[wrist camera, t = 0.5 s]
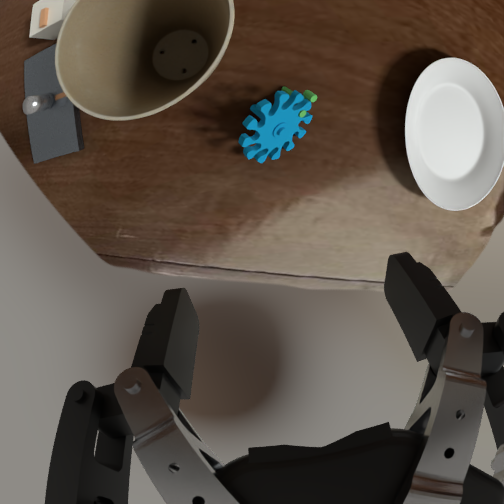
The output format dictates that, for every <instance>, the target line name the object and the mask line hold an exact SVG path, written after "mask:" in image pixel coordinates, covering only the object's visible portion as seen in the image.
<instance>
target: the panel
mask: <svg viewBox="0 0 504 504" xmlns="http://www.w3.org/2000/svg"><path fill="white" fill-rule="evenodd" d="M56 44H57V43H56ZM56 44H54V45H52V46H50V47H48V48H47V49H45V50H43V51H41V52H39V53H37V54H36V55H34V56H32V57H31V58H29V59H27V60H26V61H24V81H25V100H24V102H23V112H24V113H25V114H27V122H28V130H29V137H30V144H31V150H32V155H33V160H34V164H35V163H38V162H41V161H44V160H48V159H51V158H54V157H58V156H61V155H65V154H68V153H72V152H76V151H80V150H82V149H84V143H83V136H82V129H81V121H80V112H79V108H78V107H76V106H75V105H74V104H73V103H72V102H71V101H70V100H69V99H68V97H67V96H66V95H65V93H64V91H63V90H62V88H61V86H60V83H59V81H58V77H57V74H56V67H55V49H56Z"/></svg>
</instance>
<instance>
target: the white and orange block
mask: <svg viewBox="0 0 504 504" xmlns="http://www.w3.org/2000/svg"><path fill="white" fill-rule="evenodd" d="M75 2H76V0H40V1H38V2H36V3H35V4H33V10H32V17H31V26H30V37H29V38H40V39H50V40H55V39H57V38H58V35H59V31H60V29H61V26H62V24H63V22H64V19H65V17H66V16H67V14H68V12H69V10H70V9H71V7H72V6H73V4H74V3H75Z"/></svg>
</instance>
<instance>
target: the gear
mask: <svg viewBox="0 0 504 504" xmlns="http://www.w3.org/2000/svg"><path fill="white" fill-rule="evenodd" d="M281 90H282V91H277V92H276V93H275V101H274V104H273V106H272V104H271V103H270V102H269V101H267V100H266V99H264V100H262V101H260V102H258V103H257V105H256V104H253V105H252V106H251V107H250V110H251V111H252V112H253V113H255V114H256V115H257V116H258V117H259V118H260V119H261V120H260V122H259V123H257V120H256V119H255V118H253V117H252V116H250V115H249V116H248V117H247V118H246V119H245V120H244V121H243V123H242V124H243V125H244V126H245V127H246V128H247V129H249V130H256V132H255V134H254V135H253V136H251V137H249V136H248V135H247V134H246V133H244V134H241V136H240V138H239V142H238V143H239V144H240V145H241V146H242V147H246V148H244V149H243V153H244V155H245V156H246V157H247V158H248V159H251V158H253V157H254V158H255V159H256V160H257V161H258V162H260V163H263V162H264V161H265V159H266V157H267V155H268V156H269V157H270V158H271V159H273V160H274V159H278V158H279V157H280V150H281V148H282V146H283V148H284V149H285V150H286V151H289V150H291V149H292V148H294V143H293V142H292V136H293V134H295V135H296V136H297V137H298V138H302V137H303V136H304V134H305V133H306V131H305V130H304V129H303V128H302V127H298V124H299V122H300V121H303V122H304V123H306V124H308V123H309V122H310V121H311V119H312V115H311V114H309V113H308V112H306V111H308V110H310V109H311V102H315V101H316V99H317V95H315V94H314V93H312V92H311V91H309V90H306V91H305V92H304V93H303V94H302V93H300V92H297V91H296V90H294V91H291V90H290V89H288V88H287V87H285V86H284V87H282V89H281ZM289 96H290V97H289ZM310 101H311V102H310ZM271 106H272V108H271ZM270 109H271V110H270ZM253 143H256V145H255V146H252V147H251V146H249V145H251V144H253ZM247 146H248V147H247Z"/></svg>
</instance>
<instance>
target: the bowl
mask: <svg viewBox="0 0 504 504" xmlns="http://www.w3.org/2000/svg"><path fill="white" fill-rule="evenodd" d="M405 143H406V151H407V156H408V161H409V164H410V168H411V171H412V173H413V176H414V178H415V180H416V182H417V184H418V186H419V188H420V189H421V191H422V192H423V193H424V195H425V196H426V197H427V198H428V199H429V200H430V201H431V202H433V203H434V204H435V205H437V206H439V207H441V208H443V209H446V210H452V211H458V210H464V209H467V208H470V207H472V206H474V205H476V204H477V203H479V202H480V201H481V200H482V199H484V198H485V197H486V196H487V194H488V193H489V192H490V191H491V189H492V188H493V187H494V185H495V183H496V182H497V180H498V178H499V176H500V173H501V171H502V168H503V165H504V109H503V105H502V102H501V100H500V97H499V95H498V93H497V91H496V89H495V88H494V86H493V84H492V83H491V81H490V80H489V79H488V77H487V76H486V75H485V74H484V73H483V72H482V71H481V70H480V69H479V68H477V67H476V66H475V65H473V64H471V63H470V62H468V61H465V60H463V59H459V58H443V59H440V60H437V61H435V62H433V63H432V64H430V65H429V66H428V67H427V68H426V69H425V70H424V71H423V72H422V73H421V75H420V76H419V77H418V79H417V81H416V83H415V85H414V87H413V89H412V92H411V94H410V98H409V101H408V105H407V111H406V119H405Z"/></svg>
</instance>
